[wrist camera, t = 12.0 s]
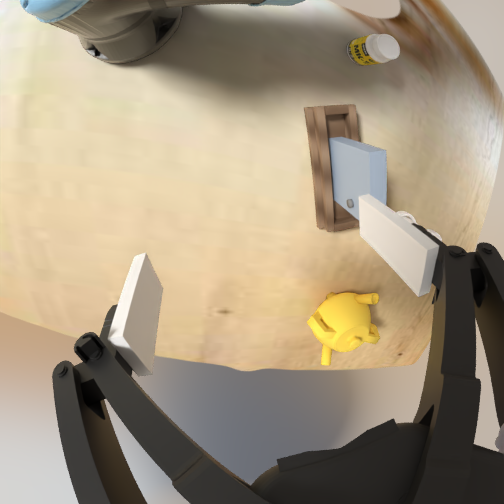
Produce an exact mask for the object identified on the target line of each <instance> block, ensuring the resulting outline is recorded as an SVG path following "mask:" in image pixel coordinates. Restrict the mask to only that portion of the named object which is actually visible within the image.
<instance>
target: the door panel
mask: <svg viewBox="0 0 504 504" xmlns="http://www.w3.org/2000/svg"><path fill="white" fill-rule="evenodd" d="M328 145H329V156H330V167H331V179H332V194H333V200H335V201H336V202H337V203H338V204H340V205H341V206H342V207H343V208H344V209H346V210H347V211H348V212H349V213H350V214H352V215H353V216H354V217H355V218H356V219H358V220H359V196H362V195H366V194H370V195H371V196H373V197H374V198H376V199H377V200H379V201H380V202H382V203H383V204H384V205H386V196H387V163H386V150H383V149H380V148H377V147H374V146H371V145H368V144H365V143H361V142H358V141H355V140H351V139H348V138H344V137H334V138H328Z"/></svg>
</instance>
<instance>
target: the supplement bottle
mask: <svg viewBox="0 0 504 504" xmlns="http://www.w3.org/2000/svg"><path fill="white" fill-rule="evenodd" d="M347 53H348V56H349V58H350V59H351V60H352V61H353V62H354V63H356V64H358V65H362V66H364V65H372V64H380V63H386V62H388V61H390V60H393V59H396V58H397V57H398V56H399V54H400V47H399V44H398V42H397V41H396V40H395V39H394V38H393V37H392V36H390V35H388V34H381V35H379V34H371V35H367V36H364V37H361V38H357V39H354V40H352V41H350V42H349V44H348V46H347Z"/></svg>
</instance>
